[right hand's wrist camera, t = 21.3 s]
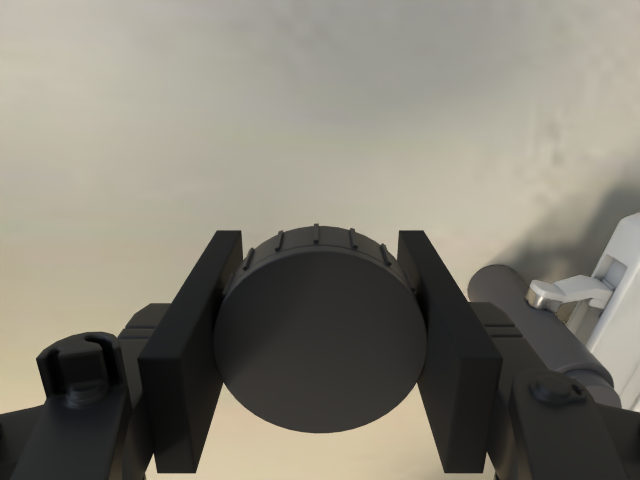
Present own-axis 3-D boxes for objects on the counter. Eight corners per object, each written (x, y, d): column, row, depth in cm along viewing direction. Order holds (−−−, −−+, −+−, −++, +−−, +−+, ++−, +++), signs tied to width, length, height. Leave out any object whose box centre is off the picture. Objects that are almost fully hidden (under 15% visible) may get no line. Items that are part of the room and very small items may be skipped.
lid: (327, 180, 10) (328, 200, 9) (455, 320, 12) (475, 358, 10) (183, 307, 12) (162, 342, 10) (314, 420, 13) (313, 467, 12)
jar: (464, 310, 39) (541, 441, 26) (471, 264, 38) (557, 377, 24) (514, 311, 39) (618, 442, 26) (523, 264, 38) (639, 378, 24)
